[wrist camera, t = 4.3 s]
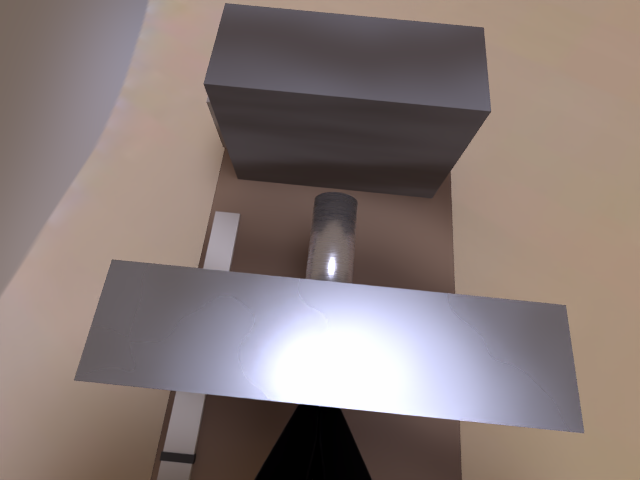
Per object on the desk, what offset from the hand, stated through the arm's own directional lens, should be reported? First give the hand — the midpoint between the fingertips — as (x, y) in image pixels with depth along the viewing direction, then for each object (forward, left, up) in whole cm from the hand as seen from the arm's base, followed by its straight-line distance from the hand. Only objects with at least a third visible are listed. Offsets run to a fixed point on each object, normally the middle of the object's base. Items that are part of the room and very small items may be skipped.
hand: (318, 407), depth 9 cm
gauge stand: (+4, +3, -8) cm, 9 cm away
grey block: (+2, +3, -6) cm, 7 cm away
